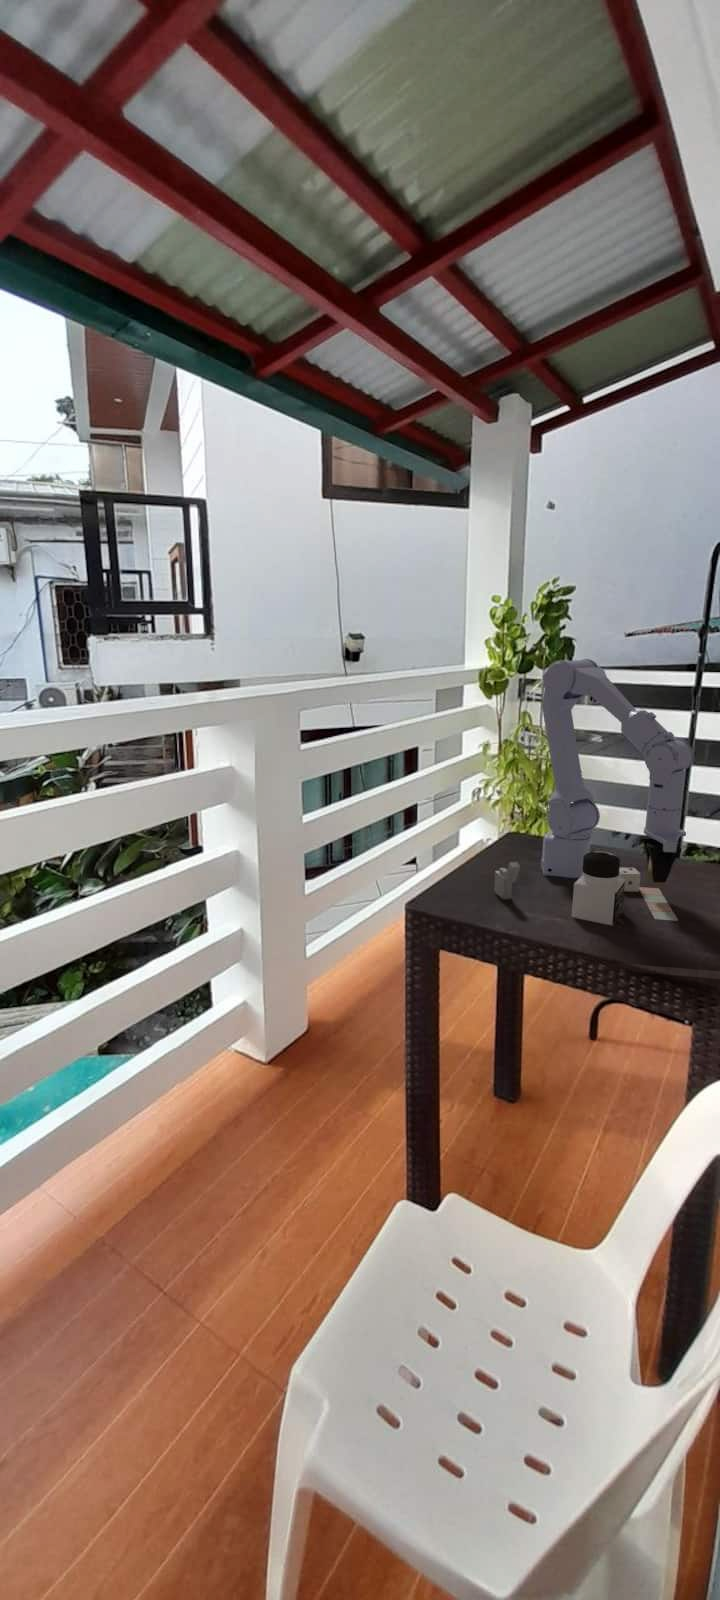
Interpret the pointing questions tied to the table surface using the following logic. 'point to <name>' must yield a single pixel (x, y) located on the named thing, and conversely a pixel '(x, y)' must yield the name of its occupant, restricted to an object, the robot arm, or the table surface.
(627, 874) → the die
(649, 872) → the pawn
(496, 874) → the grey notched upright piece
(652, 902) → the board
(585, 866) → the medicine bottle
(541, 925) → the table surface
